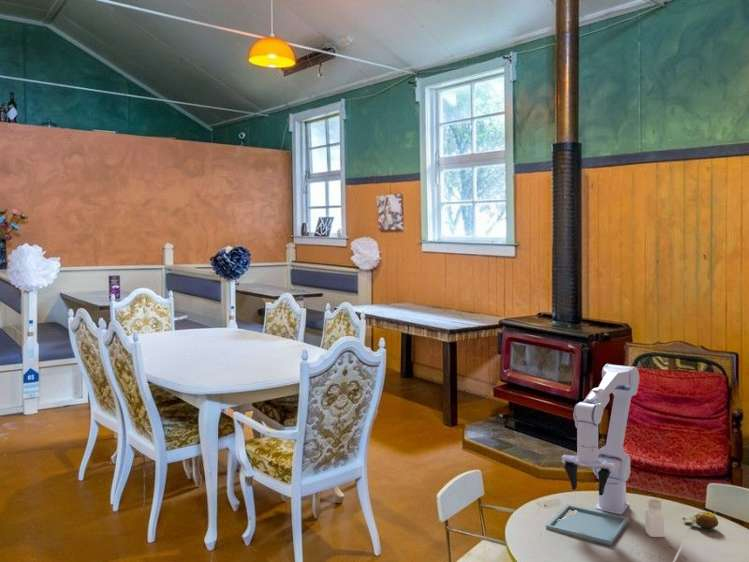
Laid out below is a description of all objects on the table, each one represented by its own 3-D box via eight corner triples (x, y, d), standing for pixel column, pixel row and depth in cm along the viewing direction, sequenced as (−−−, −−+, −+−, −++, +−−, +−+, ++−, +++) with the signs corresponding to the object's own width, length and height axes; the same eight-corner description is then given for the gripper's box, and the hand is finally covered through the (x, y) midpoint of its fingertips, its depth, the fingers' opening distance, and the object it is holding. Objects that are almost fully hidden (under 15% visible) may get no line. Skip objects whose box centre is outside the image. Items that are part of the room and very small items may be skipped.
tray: (567, 509, 195) (567, 504, 195) (628, 523, 185) (628, 517, 185) (546, 530, 181) (546, 525, 180) (611, 546, 170) (611, 541, 170)
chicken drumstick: (698, 515, 188) (699, 503, 188) (725, 526, 181) (726, 514, 181) (680, 520, 185) (680, 508, 184) (706, 532, 177) (707, 519, 177)
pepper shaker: (644, 531, 179) (644, 498, 178) (658, 531, 179) (659, 498, 178) (650, 538, 175) (650, 504, 174) (665, 538, 175) (665, 504, 174)
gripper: (557, 444, 183) (558, 490, 183) (609, 452, 174) (609, 501, 175) (566, 438, 188) (566, 483, 189) (616, 446, 180) (616, 493, 180)
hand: (587, 491), depth 182 cm, fingers open, 7 cm apart
